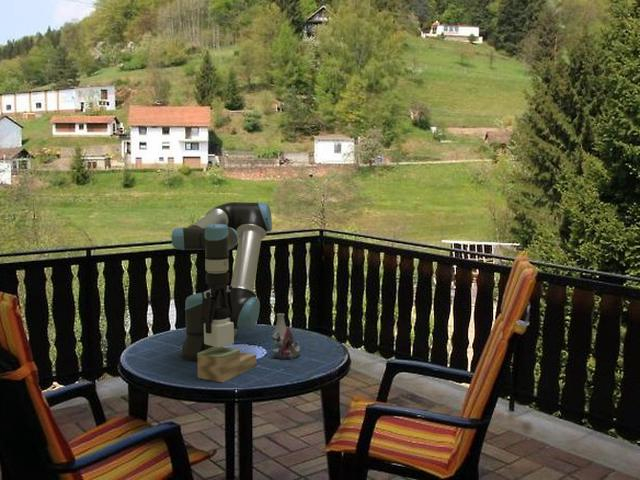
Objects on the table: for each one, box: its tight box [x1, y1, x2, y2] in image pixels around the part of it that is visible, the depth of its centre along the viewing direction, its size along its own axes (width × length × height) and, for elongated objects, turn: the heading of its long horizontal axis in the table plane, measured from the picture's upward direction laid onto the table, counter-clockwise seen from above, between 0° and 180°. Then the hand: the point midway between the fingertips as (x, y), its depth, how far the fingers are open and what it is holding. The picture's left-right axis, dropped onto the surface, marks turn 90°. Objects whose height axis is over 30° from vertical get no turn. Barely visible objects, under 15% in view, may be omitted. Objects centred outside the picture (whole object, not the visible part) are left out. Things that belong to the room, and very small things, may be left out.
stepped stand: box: [196, 346, 257, 383], centre depth 217 cm, size 10×20×8 cm, turn 153°
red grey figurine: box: [270, 326, 302, 360], centre depth 236 cm, size 11×11×12 cm
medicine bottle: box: [204, 307, 235, 348], centre depth 211 cm, size 7×7×12 cm
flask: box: [271, 312, 290, 340], centre depth 261 cm, size 7×7×10 cm
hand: (218, 339), depth 211 cm, fingers closed on medicine bottle, 8 cm apart
